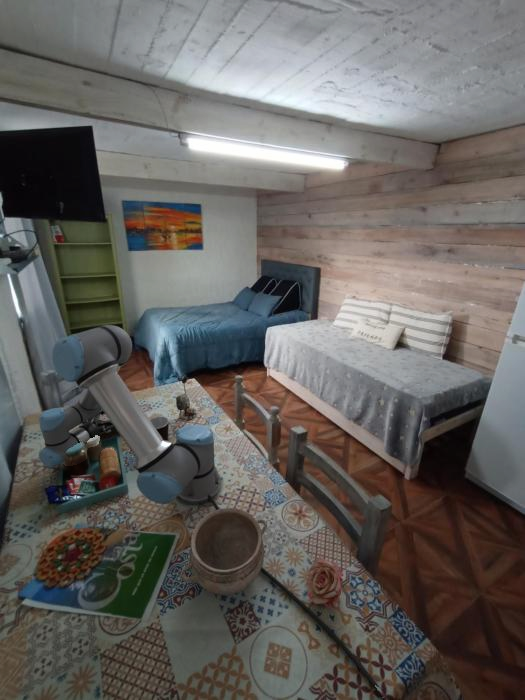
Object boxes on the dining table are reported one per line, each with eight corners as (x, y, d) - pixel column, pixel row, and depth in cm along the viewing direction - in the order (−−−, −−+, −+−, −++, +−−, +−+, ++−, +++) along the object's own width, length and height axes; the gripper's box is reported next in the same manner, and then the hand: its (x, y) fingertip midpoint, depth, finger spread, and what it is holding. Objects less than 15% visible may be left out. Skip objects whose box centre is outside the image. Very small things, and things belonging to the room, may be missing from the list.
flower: (322, 557, 85) (311, 550, 80) (355, 575, 79) (345, 568, 74) (309, 598, 80) (296, 592, 76) (342, 619, 74) (331, 615, 70)
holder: (134, 429, 139) (133, 423, 138) (94, 441, 131) (93, 435, 130) (130, 420, 146) (129, 414, 145) (91, 431, 137) (90, 425, 136)
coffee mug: (167, 449, 127) (165, 428, 123) (146, 449, 127) (143, 428, 124) (175, 432, 138) (173, 412, 134) (155, 431, 138) (153, 412, 134)
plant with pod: (171, 418, 148) (168, 380, 141) (190, 408, 157) (187, 371, 150) (183, 424, 144) (180, 385, 137) (201, 413, 152) (199, 376, 145)
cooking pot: (202, 639, 69) (199, 603, 64) (168, 570, 83) (163, 536, 78) (287, 569, 83) (289, 536, 79) (245, 520, 97) (246, 489, 93)
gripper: (62, 435, 127) (104, 409, 145) (110, 451, 118) (148, 421, 137) (58, 419, 124) (102, 395, 142) (107, 434, 116) (146, 406, 134)
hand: (124, 408), depth 140 cm, fingers open, 13 cm apart
